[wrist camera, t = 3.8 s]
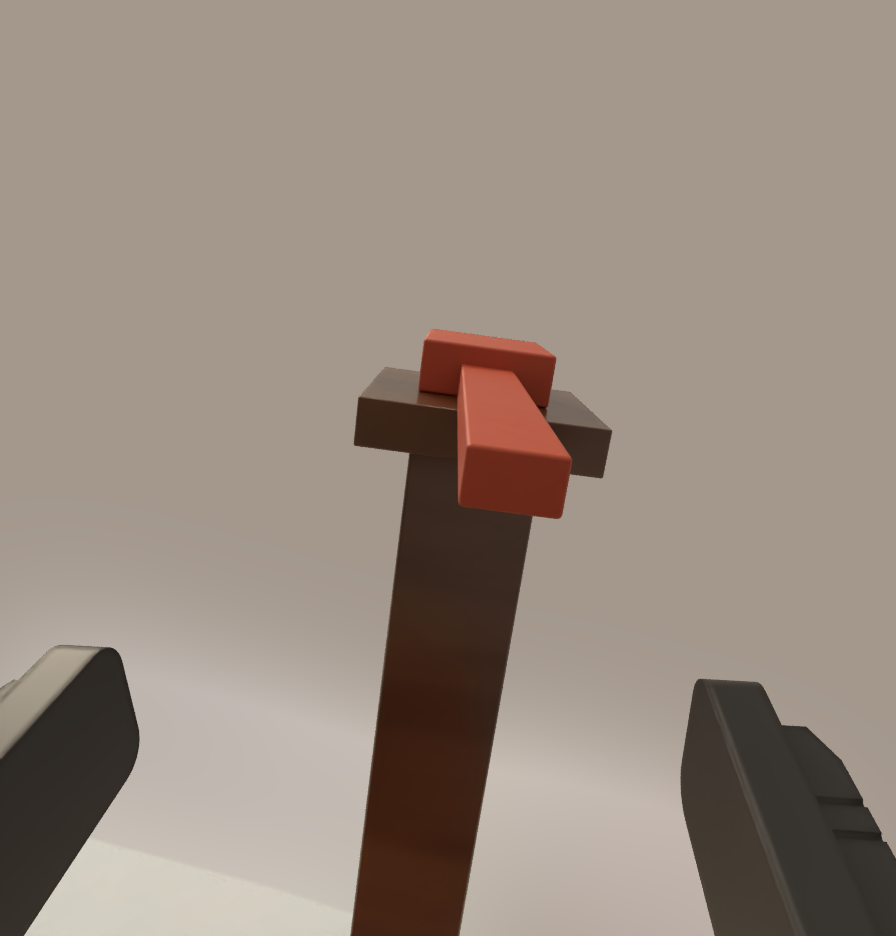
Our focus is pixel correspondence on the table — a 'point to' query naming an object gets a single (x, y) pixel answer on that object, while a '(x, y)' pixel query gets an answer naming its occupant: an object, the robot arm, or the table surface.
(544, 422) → the red spoon
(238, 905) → the table surface
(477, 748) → the stand
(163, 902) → the table surface
